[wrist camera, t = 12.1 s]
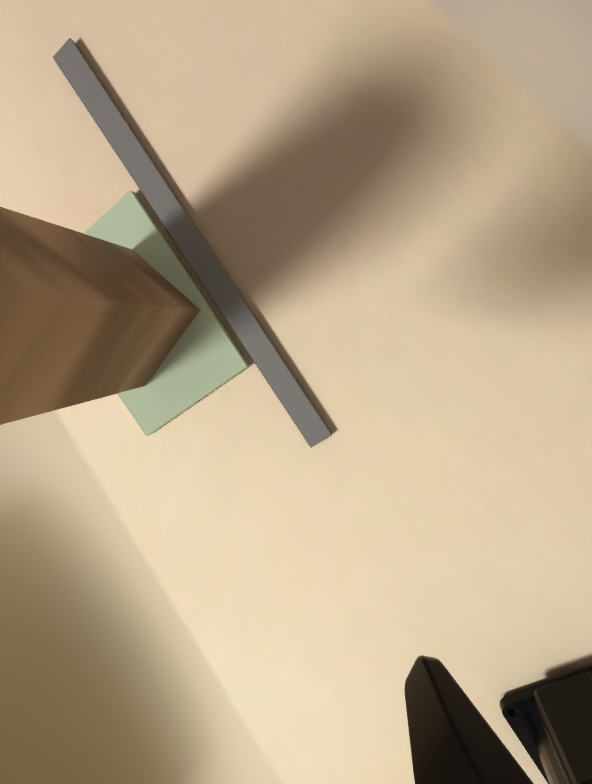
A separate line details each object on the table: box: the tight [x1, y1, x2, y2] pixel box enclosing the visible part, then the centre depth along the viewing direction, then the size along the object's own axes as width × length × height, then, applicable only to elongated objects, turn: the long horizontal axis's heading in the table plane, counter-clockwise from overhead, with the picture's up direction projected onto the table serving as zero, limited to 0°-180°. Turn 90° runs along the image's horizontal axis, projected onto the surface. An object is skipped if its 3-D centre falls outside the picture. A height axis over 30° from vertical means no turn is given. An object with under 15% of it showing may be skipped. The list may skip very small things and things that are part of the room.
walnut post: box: [0, 207, 201, 425], centre depth 13 cm, size 4×5×13 cm
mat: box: [84, 190, 249, 436], centre depth 19 cm, size 10×7×1 cm
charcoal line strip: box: [53, 38, 332, 447], centre depth 18 cm, size 22×1×1 cm, turn 34°
